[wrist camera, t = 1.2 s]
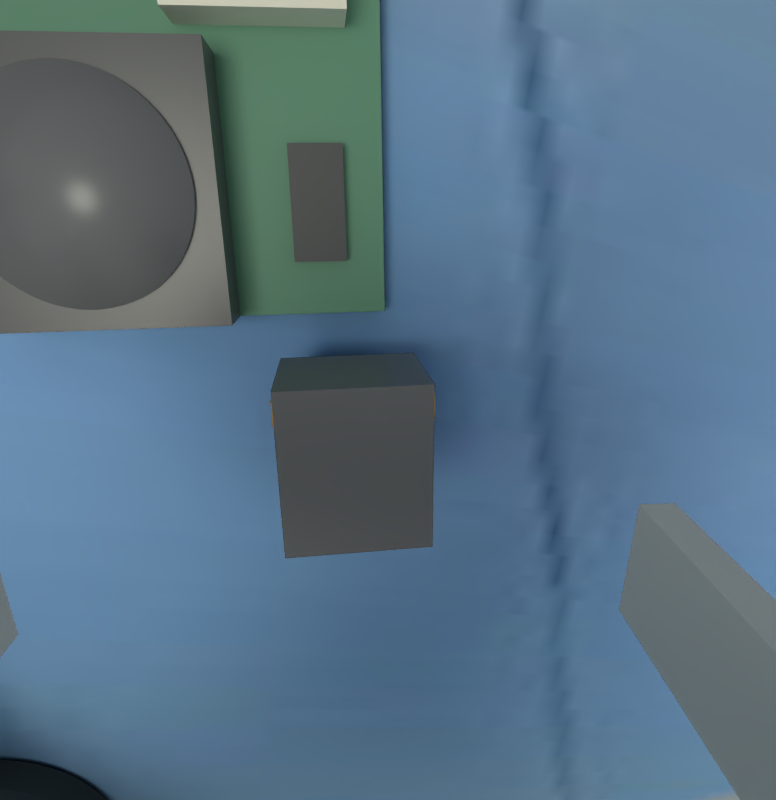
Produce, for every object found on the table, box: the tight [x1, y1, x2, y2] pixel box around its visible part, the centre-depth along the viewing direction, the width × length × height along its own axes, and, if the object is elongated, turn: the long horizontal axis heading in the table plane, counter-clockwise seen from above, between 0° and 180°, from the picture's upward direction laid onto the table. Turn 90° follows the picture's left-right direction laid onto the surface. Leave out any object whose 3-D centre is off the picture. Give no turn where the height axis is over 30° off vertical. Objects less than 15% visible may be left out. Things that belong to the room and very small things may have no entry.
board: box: [0, 0, 385, 316], centre depth 22 cm, size 22×18×3 cm
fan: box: [0, 30, 240, 334], centre depth 23 cm, size 11×11×3 cm
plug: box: [270, 353, 435, 558], centre depth 25 cm, size 7×6×9 cm
